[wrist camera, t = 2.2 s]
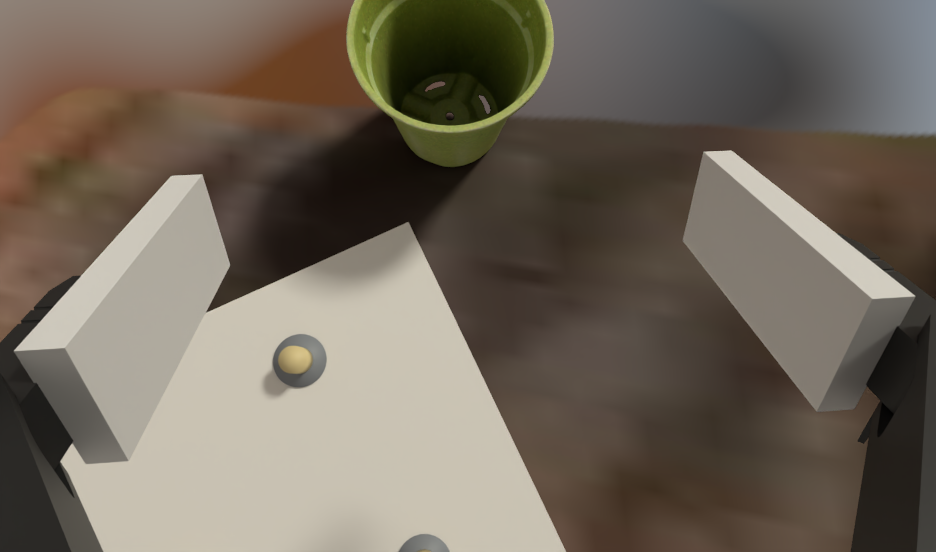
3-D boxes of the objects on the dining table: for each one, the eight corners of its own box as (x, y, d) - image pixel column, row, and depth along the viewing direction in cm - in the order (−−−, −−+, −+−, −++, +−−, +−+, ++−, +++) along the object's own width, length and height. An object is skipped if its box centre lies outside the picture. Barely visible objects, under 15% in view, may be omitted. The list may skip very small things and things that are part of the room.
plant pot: (554, 156, 33) (590, 79, 25) (412, 221, 32) (398, 164, 24) (486, 29, 35) (497, -85, 26) (348, 87, 34) (313, -12, 25)
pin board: (410, 227, 32) (406, 214, 30) (586, 596, 29) (599, 618, 26) (38, 395, 30) (-2, 397, 27) (182, 819, 26) (152, 868, 24)
